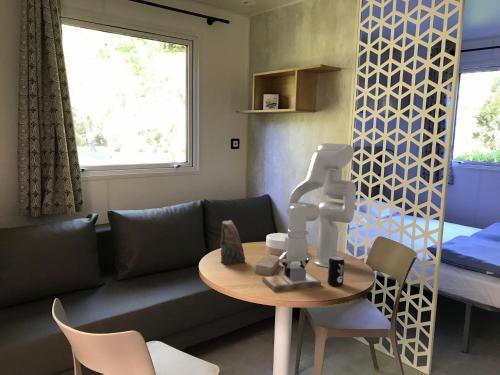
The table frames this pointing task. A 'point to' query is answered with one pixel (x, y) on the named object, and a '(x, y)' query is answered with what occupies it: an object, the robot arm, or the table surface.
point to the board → (289, 283)
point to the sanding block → (296, 274)
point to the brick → (267, 265)
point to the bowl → (275, 243)
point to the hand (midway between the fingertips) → (294, 275)
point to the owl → (231, 245)
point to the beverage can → (336, 271)
